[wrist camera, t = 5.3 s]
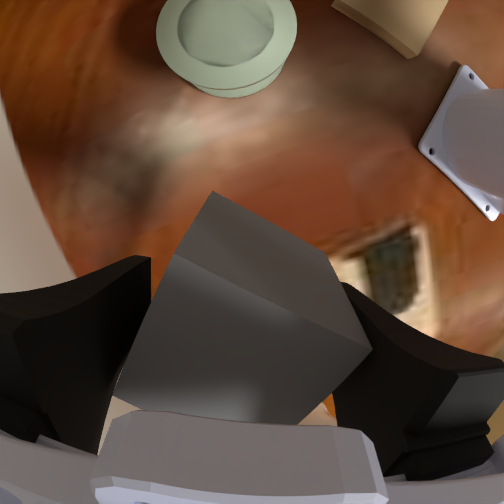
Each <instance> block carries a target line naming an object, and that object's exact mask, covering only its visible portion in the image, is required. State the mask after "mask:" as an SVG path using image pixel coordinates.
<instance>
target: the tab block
mask: <svg viewBox="0 0 504 504" xmlns="http://www.w3.org/2000/svg"><path fill="white" fill-rule="evenodd" d="M372 350H373V349H372V347H371V345H370V342H369V340H368V338H367V336H366V334H365V332H364V330H363V328H362V325H361V323H360V321H359V319H358V317H357V315H356V313H355V311H354V309H353V307H352V305H351V303H350V301H349V299H348V297H347V295H346V293H345V291H344V289H343V287H342V285H341V283H340V281H339V279H338V277H337V275H336V273H335V271H334V269H333V267H332V265H331V263H330V261H329V260H328V258H327V256H326V254H325V253H324V252H323V251H321V250H319V249H317V248H316V247H314V246H312V245H310V244H309V243H307V242H305V241H303V240H301V239H300V238H298V237H296V236H294V235H293V234H291V233H289V232H287V231H285V230H284V229H282V228H280V227H278V226H276V225H275V224H273V223H271V222H269V221H267V220H266V219H264V218H262V217H260V216H258V215H256V214H255V213H253V212H251V211H249V210H247V209H245V208H244V207H242V206H240V205H238V204H236V203H234V202H232V201H231V200H229V199H227V198H225V197H223V196H221V195H219V194H217V193H216V192H214V191H212V192H211V194H210V195H209V197H208V199H207V200H206V202H205V203H204V205H203V207H202V208H201V210H200V211H199V213H198V215H197V216H196V218H195V219H194V221H193V223H192V224H191V226H190V228H189V229H188V231H187V233H186V234H185V236H184V238H183V239H182V241H181V243H180V244H179V246H178V248H177V249H176V251H175V253H174V255H173V257H172V259H171V261H170V263H169V265H168V267H167V269H166V271H165V273H164V275H163V278H162V280H161V282H160V284H159V286H158V288H157V291H156V293H155V295H154V297H153V299H152V301H151V304H150V306H149V308H148V310H147V313H146V315H145V317H144V319H143V322H142V324H141V326H140V329H139V331H138V333H137V336H136V338H135V340H134V343H133V345H132V347H131V350H130V352H129V355H128V357H127V359H126V362H125V364H124V367H123V369H122V372H121V374H120V377H119V379H118V382H117V384H116V387H115V389H114V392H113V396H115V397H117V398H119V399H121V400H123V401H125V402H127V403H129V404H132V405H134V406H136V407H138V408H140V409H143V410H148V411H171V412H176V413H182V414H188V415H195V416H201V417H208V418H216V419H224V420H233V421H244V422H255V423H269V424H289V425H298V424H299V423H300V422H301V421H302V420H303V419H304V418H305V417H306V416H308V415H309V414H310V413H311V412H312V411H313V410H314V409H315V408H316V407H317V406H318V405H319V404H320V403H321V402H323V401H324V400H325V399H326V398H327V397H328V396H329V395H330V394H331V393H332V392H333V391H334V390H335V389H336V388H337V387H338V386H339V385H340V384H341V383H342V382H343V381H344V380H345V379H346V378H347V377H348V376H349V375H350V374H351V372H352V371H353V370H354V369H355V368H356V367H357V366H358V365H359V364H360V363H361V362H362V361H363V360H364V359H365V357H366V356H367V355H368V354H369V353H370V352H371V351H372Z"/></svg>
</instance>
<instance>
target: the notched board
mask: <svg viewBox="0 0 504 504" xmlns="http://www.w3.org/2000/svg"><path fill="white" fill-rule="evenodd" d="M447 2H448V0H334V2H333V3H332V5H331V7H333V8H335V9H336V10H338V11H340V12H341V13H343V14H345V15H346V16H348V17H349V18H351V19H353V20H354V21H356V22H357V23H359V24H360V25H362V26H363V27H365V28H366V29H368V30H369V31H371V32H372V33H374V34H375V35H376V36H378V37H379V38H381V39H382V40H383V41H385V42H386V43H387V44H389V45H390V46H391V47H393V48H394V49H395V50H397V51H398V52H399V53H401V54H402V55H403V56H404V57H406V58H407V59H410V58H413V57H416V56H418V55H419V53H420V52H421V50H422V48H423V46H424V44H425V43H426V41H427V39H428V37H429V35H430V34H431V32H432V30H433V28H434V26H435V24H436V23H437V21H438V19H439V17H440V15H441V13H442V11H443V10H444V8H445V6H446V4H447Z"/></svg>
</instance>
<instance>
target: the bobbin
mask: <svg viewBox="0 0 504 504" xmlns="http://www.w3.org/2000/svg"><path fill="white" fill-rule="evenodd" d="M296 33H297V19H296V14H295V11H294V8H293V6H292V4H291V2H290V0H167V2H166V3H165V5H164V7H163V8H162V10H161V13H160V15H159V18H158V22H157V28H156V39H157V45H158V48H159V51H160V54H161V55H162V57H163V59H164V61H165V62H166V63H167V65H168V66H169V67H170V68H171V69H172V70H173V71H174V72H175V73H177V74H178V75H179V76H181V77H182V78H184V79H185V80H187V81H189V82H191V83H192V84H193V85H195V86H196V87H197V88H199V89H200V90H202V91H204V92H205V93H208V94H210V95H213V96H217V97H222V98H241V97H246V96H249V95H252V94H255V93H257V92H259V91H261V90H262V89H264V88H266V87H267V86H268V85H269V84H271V83H272V82H273V81H274V80H275V79H276V77H277V76H278V74H279V73H280V71H281V69H282V68H283V65H284V63H285V60H286V59H287V57H288V55H289V53H290V51H291V49H292V47H293V44H294V42H295V38H296Z"/></svg>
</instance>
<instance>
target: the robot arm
mask: <svg viewBox="0 0 504 504" xmlns="http://www.w3.org/2000/svg"><path fill="white" fill-rule="evenodd" d="M469 74H470V76H471V79H470V78H469ZM418 148H419V151H420V152H421V153H422V154H423V155H424V156H425V157H427V158H428V159H429V160H430V161H431V162H432V163H433V164H434V165H436V166H437V167H438V168H439V169H440V170H441V171H442V172H443V173H444V174H445V175H446V176H447V177H448V178H449V179H450V180H451V181H452V182H454V183H455V184H456V185H457V186H458V187H459V188H460V189H461V190H462V191H463V192H464V193H465V194H466V196H467V197H468V198H469V199H470V200H471V201H472V202H473V203H474V204H475V205H476V206H477V207H478V208H479V209H480V210H481V211H482V212H483V214H484V215H485V216H486V217H487V218H488V219H489V220H491V221H494V220H495V219H496V218H497V216H498V214H499V213H502V214H504V89H489V88H488V87H487V86H486V85H485V84H484V83H483V82H482V81H481V79H480V78H479V77H478V76H477V75H476V74H475V73H474V72H473V71H472V70H471V69H470V68H469V67H468V66H467V65H463V66H460V68H459V70H458V72H457V74H456V76H455V78H454V80H453V82H452V84H451V86H450V87H449V89H448V91H447V93H446V95H445V97H444V99H443V101H442V103H441V104H440V106H439V108H438V110H437V112H436V114H435V115H434V117H433V119H432V121H431V123H430V124H429V126H428V128H427V130H426V131H425V133H424V135H423V137H422V138H421V140H420V142H419V145H418ZM430 148H431V149H432V154H431V155H430V154H429V149H430ZM486 206H487V209H486ZM340 283H341V285H342V287H343V289H344V291H345V293H346V295H347V297H348V299H349V301H350V303H351V305H352V307H353V309H354V311H355V313H356V315H357V317H358V319H359V321H360V323H361V325H362V328H363V330H364V332H365V334H366V336H367V338H368V340H369V342H370V345H371V347H372V349H373V350H372V351H371V352H370V353H369V354H368V355H367V356H366V357H365V359H364V360H363V361H362V362H361V363H360V364H359V365H358V366H357V367H356V368H355V369H354V370H353V371H352V372H351V374H350V375H349V376H348V377H347V378H346V379H345V380H344V381H343V382H342V383H341V384H340V385H339V386H338V387H337V388H336V389H335V390H334V391H333V392H332V395H333V399H334V404H335V412H336V420H337V426H331V425H289V424H269V423H255V422H244V421H233V420H224V419H216V418H208V417H201V416H195V415H188V414H182V413H176V412H171V411H148V410H135V411H131V412H129V413H127V414H125V415H122V416H120V417H117V418H115V419H113V420H112V422H111V425H110V427H109V430H108V433H107V435H106V438H105V441H104V443H103V446H102V448H101V451H100V454H99V455H97V453H98V448H99V443H100V439H101V435H102V430H103V426H104V422H105V418H106V415H107V411H108V408H109V404H110V401H111V397H112V395H113V392H114V389H115V386H116V383H117V380H118V377H119V375H120V373H121V370H122V368H123V366H124V364H125V362H126V359H127V357H128V355H129V352H130V350H131V347H132V345H133V343H134V340H135V338H136V336H137V333H138V331H139V329H140V326H141V324H142V322H143V319H144V317H145V315H146V313H147V310H148V308H149V306H150V304H151V257H145V256H138V255H134V256H130V257H127V258H125V259H122V260H120V261H118V262H116V263H113V264H111V265H109V266H106V267H104V268H102V269H100V270H97V271H95V272H92V273H89V274H87V275H84V276H82V277H79V278H77V279H74V280H71V281H68V282H64V283H61V284H57V285H54V286H50V287H45V288H39V289H35V290H30V291H22V292H14V293H2V294H0V504H504V435H502V436H501V437H500V438H498V439H497V440H496V441H495V442H494V443H493V444H492V445H491V444H490V443H489V441H488V439H487V437H486V435H487V434H488V433H489V432H490V427H489V426H488V424H487V421H488V419H489V418H490V417H491V416H492V414H493V413H494V412H495V410H496V409H497V408H498V407H499V405H500V404H501V402H502V401H503V400H504V362H503V361H502V360H500V359H497V358H493V357H489V356H484V355H480V354H476V353H472V352H469V351H466V350H462V349H459V348H456V347H454V346H451V345H448V344H446V343H443V342H441V341H439V340H436V339H434V338H432V337H430V336H428V335H426V334H424V333H422V332H420V331H418V330H416V329H414V328H413V327H411V326H409V325H407V324H406V323H404V322H402V321H401V320H399V319H398V318H396V317H395V316H393V315H392V314H390V313H389V312H387V311H386V310H384V309H383V308H382V307H380V306H379V305H377V304H376V303H375V302H373V301H372V300H371V299H369V298H368V297H367V296H365V295H364V294H363V293H361V292H360V291H359V290H357V289H356V288H354V287H353V286H351V285H349V284H348V283H345V282H340Z"/></svg>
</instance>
